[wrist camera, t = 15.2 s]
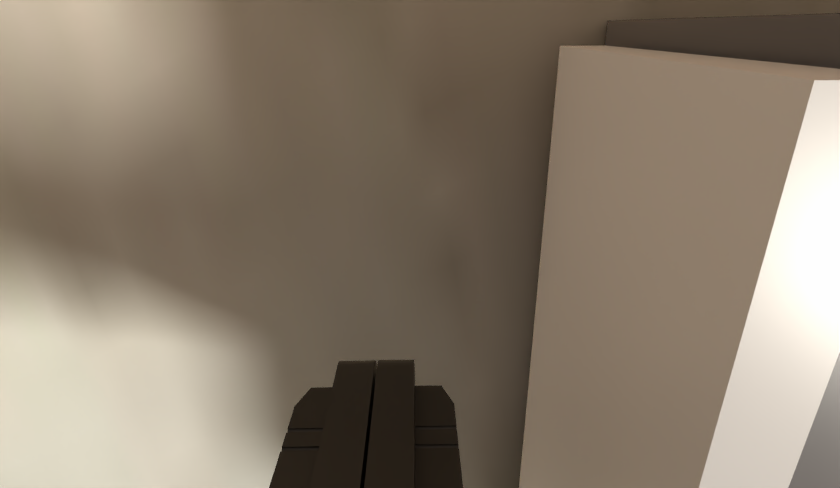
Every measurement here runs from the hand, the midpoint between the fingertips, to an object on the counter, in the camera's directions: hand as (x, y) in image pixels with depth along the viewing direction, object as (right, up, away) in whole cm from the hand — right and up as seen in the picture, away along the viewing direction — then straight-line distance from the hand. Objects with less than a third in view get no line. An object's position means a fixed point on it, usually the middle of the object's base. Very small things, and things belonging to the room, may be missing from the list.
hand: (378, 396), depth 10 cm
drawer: (+8, 0, +1) cm, 8 cm away
